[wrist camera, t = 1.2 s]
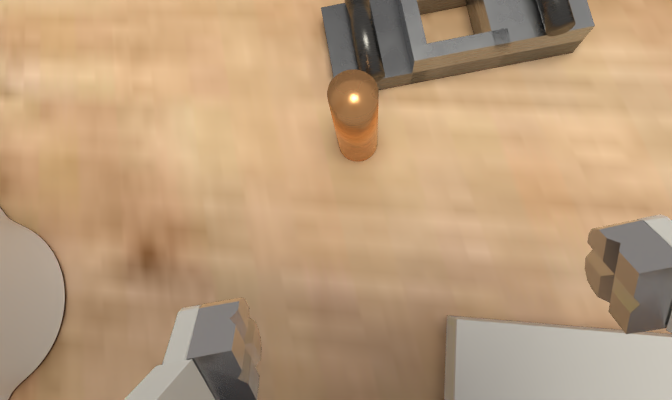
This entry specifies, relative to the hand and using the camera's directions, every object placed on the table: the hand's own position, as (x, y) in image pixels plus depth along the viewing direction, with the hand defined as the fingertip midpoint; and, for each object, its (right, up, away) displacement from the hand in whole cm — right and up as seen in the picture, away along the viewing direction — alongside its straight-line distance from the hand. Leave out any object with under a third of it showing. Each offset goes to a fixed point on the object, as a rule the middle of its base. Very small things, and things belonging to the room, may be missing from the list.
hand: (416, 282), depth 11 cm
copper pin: (0, +7, +28) cm, 29 cm away
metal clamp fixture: (+7, +16, +29) cm, 34 cm away
